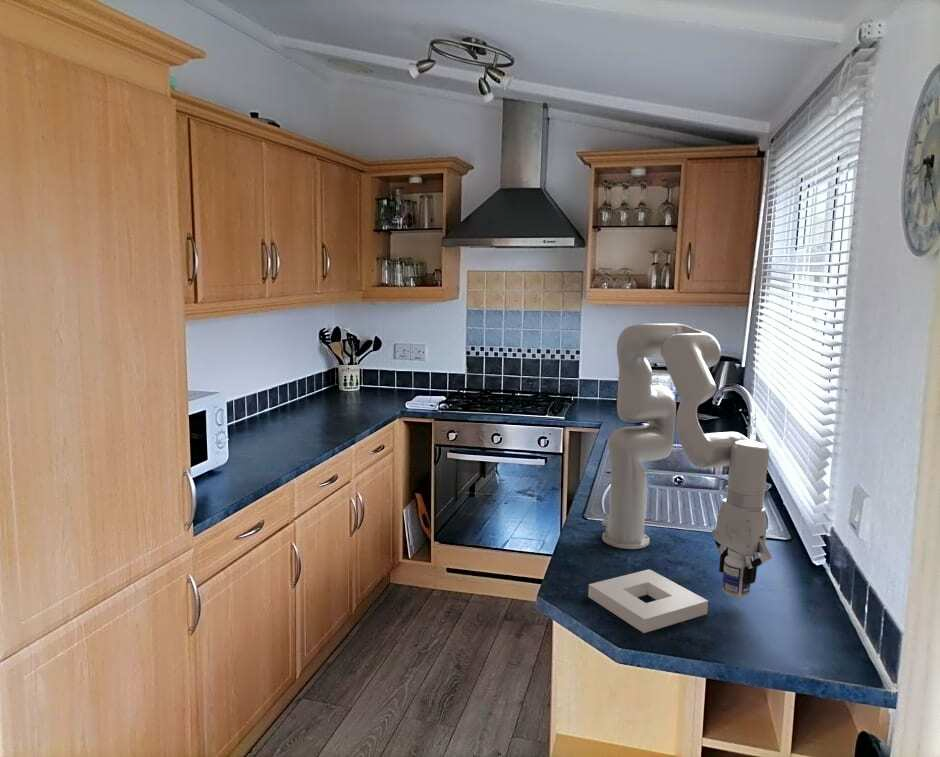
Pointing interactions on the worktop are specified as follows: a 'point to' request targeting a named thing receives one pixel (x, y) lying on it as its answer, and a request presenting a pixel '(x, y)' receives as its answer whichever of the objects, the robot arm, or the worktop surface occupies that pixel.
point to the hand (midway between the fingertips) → (736, 576)
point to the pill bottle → (734, 574)
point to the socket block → (649, 616)
